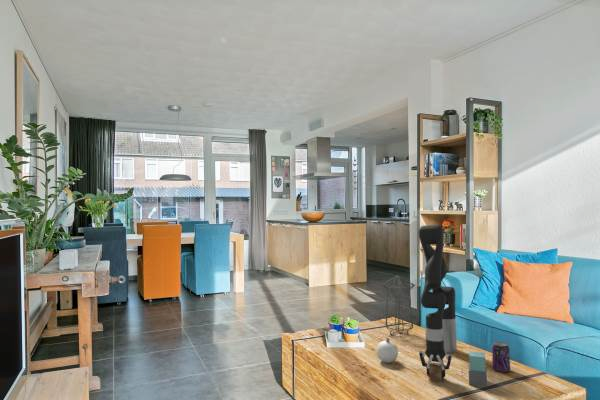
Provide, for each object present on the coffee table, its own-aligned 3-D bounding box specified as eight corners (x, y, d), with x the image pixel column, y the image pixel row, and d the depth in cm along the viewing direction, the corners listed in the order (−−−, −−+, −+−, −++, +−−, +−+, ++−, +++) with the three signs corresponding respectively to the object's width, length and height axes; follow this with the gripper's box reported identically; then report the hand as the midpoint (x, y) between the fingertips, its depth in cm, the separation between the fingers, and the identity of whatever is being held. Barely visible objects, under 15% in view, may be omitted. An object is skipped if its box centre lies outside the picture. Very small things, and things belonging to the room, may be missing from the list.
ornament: (398, 366, 198) (397, 340, 198) (376, 365, 200) (375, 340, 200) (398, 358, 208) (397, 334, 208) (377, 357, 210) (376, 333, 210)
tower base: (469, 385, 175) (468, 370, 175) (469, 378, 181) (468, 364, 182) (487, 387, 172) (486, 372, 172) (487, 380, 179) (486, 366, 179)
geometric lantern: (396, 329, 259) (395, 273, 260) (418, 335, 246) (416, 275, 248) (380, 334, 248) (378, 276, 250) (402, 340, 236) (400, 278, 237)
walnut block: (429, 380, 181) (429, 366, 181) (430, 375, 185) (430, 362, 186) (441, 381, 179) (441, 367, 179) (442, 377, 183) (442, 363, 184)
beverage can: (500, 374, 185) (499, 347, 185) (489, 368, 192) (488, 342, 192) (513, 372, 187) (512, 345, 187) (502, 366, 194) (501, 340, 194)
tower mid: (469, 370, 176) (469, 355, 176) (470, 365, 181) (469, 351, 181) (485, 372, 173) (484, 357, 173) (485, 366, 179) (484, 352, 179)
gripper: (416, 338, 182) (418, 378, 181) (451, 342, 176) (453, 382, 176) (418, 334, 189) (420, 372, 188) (452, 337, 183) (454, 376, 183)
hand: (436, 377), depth 182 cm, fingers closed on walnut block, 5 cm apart
